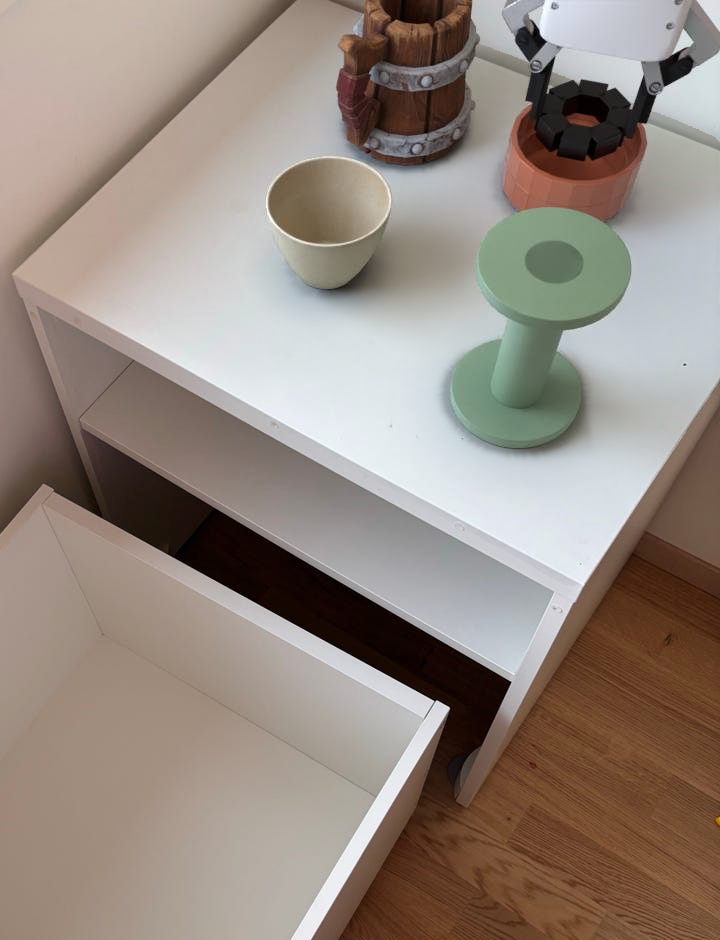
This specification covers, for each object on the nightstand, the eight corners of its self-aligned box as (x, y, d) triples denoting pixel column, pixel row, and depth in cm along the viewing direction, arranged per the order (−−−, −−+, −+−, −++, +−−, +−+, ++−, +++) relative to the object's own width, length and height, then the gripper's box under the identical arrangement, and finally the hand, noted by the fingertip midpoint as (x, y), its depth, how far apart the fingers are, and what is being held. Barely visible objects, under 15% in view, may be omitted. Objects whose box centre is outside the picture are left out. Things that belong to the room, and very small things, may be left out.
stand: (591, 363, 80) (645, 224, 67) (562, 462, 76) (614, 335, 63) (468, 333, 81) (498, 193, 69) (434, 429, 78) (460, 300, 65)
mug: (505, 112, 91) (518, -40, 77) (401, 219, 90) (395, 84, 76) (408, 57, 95) (403, -97, 81) (306, 159, 94) (284, 20, 80)
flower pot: (388, 310, 83) (395, 244, 76) (268, 313, 84) (265, 248, 77) (383, 222, 87) (389, 152, 81) (269, 226, 88) (266, 156, 81)
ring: (632, 108, 83) (639, 89, 81) (614, 168, 80) (621, 149, 79) (546, 92, 85) (551, 73, 83) (526, 150, 82) (530, 131, 80)
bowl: (640, 156, 89) (658, 105, 84) (614, 244, 84) (632, 196, 80) (517, 132, 91) (529, 81, 86) (487, 217, 87) (497, 168, 82)
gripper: (799, -137, 65) (700, 107, 81) (535, -173, 68) (490, 68, 85) (782, -68, 62) (683, 171, 78) (508, -109, 66) (467, 128, 82)
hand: (584, 116), depth 81 cm, fingers closed on ring, 7 cm apart
